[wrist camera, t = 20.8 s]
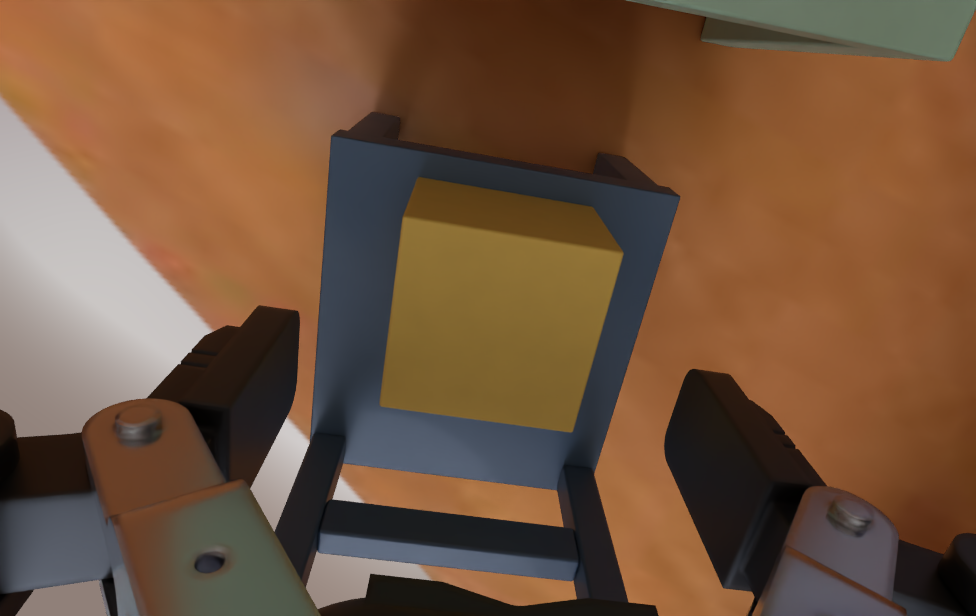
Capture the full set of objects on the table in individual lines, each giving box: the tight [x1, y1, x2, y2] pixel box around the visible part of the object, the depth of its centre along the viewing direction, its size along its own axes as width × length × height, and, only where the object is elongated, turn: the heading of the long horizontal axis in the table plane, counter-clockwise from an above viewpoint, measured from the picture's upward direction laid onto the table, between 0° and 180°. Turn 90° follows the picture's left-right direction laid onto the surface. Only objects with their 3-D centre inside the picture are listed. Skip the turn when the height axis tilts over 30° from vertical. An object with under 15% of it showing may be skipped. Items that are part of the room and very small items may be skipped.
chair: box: [274, 112, 680, 603], centre depth 16 cm, size 10×9×15 cm
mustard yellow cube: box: [379, 177, 624, 433], centre depth 15 cm, size 5×5×4 cm
